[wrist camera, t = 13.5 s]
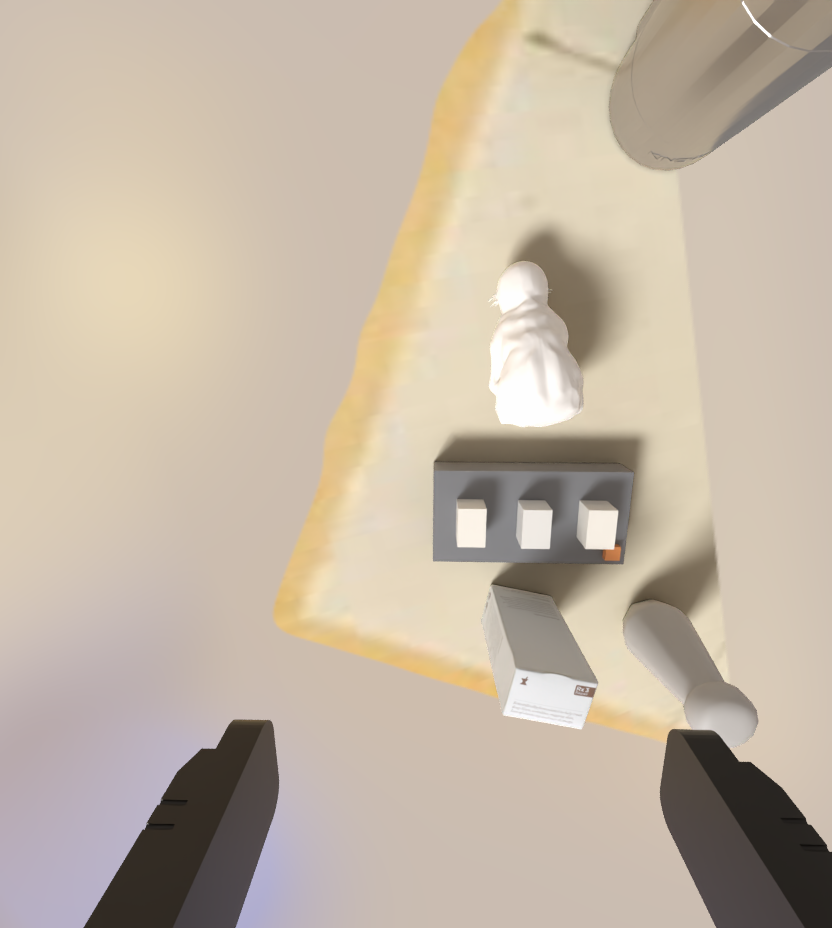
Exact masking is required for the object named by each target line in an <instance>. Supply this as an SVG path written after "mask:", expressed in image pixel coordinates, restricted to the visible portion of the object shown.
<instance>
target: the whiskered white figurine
mask: <svg viewBox="0 0 832 928" xmlns="http://www.w3.org/2000/svg"><path fill="white" fill-rule="evenodd" d="M548 290H551V289H548V281H547V278H546V275H545V273H544V271H543V270H542V269H541V268H540V267H539V266H538V265H536V264H535V263H533V262H529V261H520V262H516V263H514V264H512V265H510V266H509V267H508V268H506V269H505V270H504V272H503V273H502V274H501V276H500V278H499V281H498V285H497V293H495V294H494V295H493V297H491V298H490V299H492V298H493V299H492V300H494V299H496V300H495V302H493V304H492V306H493V305H494V304H495V303H496V302H497V301H498V302H497V303H496V305H497V304H498V303H499V306H500V309H501V316H500V318H499V320H498V322H497V324H496V327H495V330H494V333H493V336H492V339H491V342H490V352H491V376H490V381H489V388H490V390H491V391H492V392H493V393H494V394H495V395H496V408H495V410H496V412H497V414H498V417H499V420H500V422H501V424H514V425H517V426H520V427H526V426H537V427H543V426H548V425H552V424H556V423H559V422H562V421H566V420H569V419H571V418H572V417H574V416H575V415H576V414H579V413H580V412H581V411H582V409H583V404H584V400H583V376H582V373H581V370H580V367H579V366H578V364H577V361H576V360H575V358H574V357H573V356H572V354H571V353H570V352H569V350H568V348H567V344H568V338H569V335H568V330H567V327H566V325H565V323H564V321H563V320H562V319H561V318H560V317H559V316H558V315H557V314H556V313H555V312H554V311H553V310H552V309H551V308H550V307H549V306H548V303H547V301H548V298H549V297H548V292H549V291H548ZM552 291H553V290H552ZM550 293H551V292H550ZM494 297H495V298H494ZM490 299H489V300H490ZM489 300H488V301H489ZM492 300H491V301H492ZM491 301H490V302H491ZM496 305H495V306H496Z"/></svg>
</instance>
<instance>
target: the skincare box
mask: <svg viewBox="0 0 832 928" xmlns="http://www.w3.org/2000/svg"><path fill="white" fill-rule="evenodd" d="M481 622H482V626H483V630H484V635H485V640H486V644H487V649H488V653H489V657H490V662H491V666H492V671H493V676H494V680H495V685H496V689H497V693H498V697H499V702H500V707H501V711H502V714H503V715H505V716H511V717H517V718H522V719H528V720H534V721H539V722H545V723H550V724H555V725H561V726H567V727H572V728H577V729H583V727H584V723H585V720H586V717H587V714H588V711H589V708H590V705H591V703H592V699H593V697H594V694H595V691H596V688H597V685H598V681H597V679H596V677H595V675H594V673H593V672H592V670H591V668H590V666H589V664H588V663H587V661H586V659H585V657H584V655H583V654H582V652H581V650H580V648H579V646H578V644H577V643H576V641H575V639H574V637H573V635H572V633H571V632H570V630H569V628H568V626H567V624H566V622H565V620H564V619H563V617H562V615H561V613H560V611H559V610H558V608H557V606H556V604H555V602H554V600H553V598H552V597H551V596H549V595H543V594H538V593H533V592H528V591H523V590H518V589H513V588H508V587H503V586H498V585H493V584H492V585H491V586H490V589H489V593H488V596H487V600H486V604H485V607H484V611H483V615H482V619H481Z"/></svg>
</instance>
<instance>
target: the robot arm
mask: <svg viewBox="0 0 832 928" xmlns="http://www.w3.org/2000/svg"><path fill="white" fill-rule="evenodd" d="M831 67H832V0H654V1H653V2H652V4H651V5H650V7H649V9H648V10H647V12H646V13H645V15H644V16H643V18H642V20H641V21H640V23H639V24H638V27H637V36H636V40H635V42H634V43H633V45H632V46H631V48H630V49H629V51H628V52H627V54H626V55H625V57H624V58H623V60H622V62H621V64H620V66H619V68H618V70H617V72H616V74H615V77H614V80H613V84H612V88H611V92H610V102H609V111H610V122H611V125H612V128H613V132H614V135H615V137H616V139H617V141H618V142H619V144H620V146H621V148H622V149H623V150H624V151H625V152H626V153H627V154H628V156H629V157H630V158H632V159H633V160H635V161H636V162H638V163H639V164H641V165H643V166H646V167H649V168H652V169H658V170H673V169H680V168H683V167H686V166H688V165H691V164H694V163H695V162H697V161H698V160H700V159H702V158H703V157H705V156H707V155H708V154H710V153H711V152H712V151H714V150H715V149H716V148H718V147H719V146H721V145H722V144H723V143H725V142H726V141H728V140H729V139H730V138H732V137H733V136H735V135H736V134H738V133H739V132H741V131H742V130H744V129H745V128H746V127H748V126H749V125H751V124H752V123H753V122H755V121H756V120H758V119H759V118H760V117H762V116H763V115H765V114H766V113H768V112H769V111H770V110H772V109H773V108H775V107H776V106H777V105H779V104H780V103H781V102H783V101H784V100H786V99H787V98H789V97H790V96H791V95H793V94H794V93H796V92H797V91H798V90H800V89H801V88H802V87H804V86H806V85H807V84H808V83H810V82H811V81H813V80H814V79H815V78H817V77H818V76H820V75H821V74H822V73H824V72H825V71H826V70H828V69H829V68H831ZM278 791H279V774H278V765H277V756H276V747H275V738H274V729H273V724H272V722H271V721H270V720H233V721H232V722H231V723H230V724H229V726H228V727H227V729H226V731H225V733H224V735H223V737H222V738H221V740H220V742H219V744H218V746H217V748H216V749H201V750H200V751H199V752H198V753H197V754H196V755H195V756H194V757H193V758H192V759H190V760H189V761H188V762H187V763H186V764H185V765H184V766H183V767H182V768H181V769H180V770H179V771H178V772H177V774H176V775H175V777H174V779H173V780H172V782H171V784H170V785H169V787H168V788H167V790H166V792H165V793H164V795H163V797H162V799H161V803H160V805H157V807H156V808H155V810H154V812H153V813H152V815H151V817H150V818H149V820H148V822H147V825H146V828H145V830H142V832H141V833H140V835H139V837H138V838H137V840H136V842H135V843H134V845H133V847H132V848H131V850H130V852H129V853H128V855H127V857H126V858H125V860H124V862H123V863H122V865H121V866H120V868H119V870H118V872H117V873H116V875H115V876H114V878H113V880H112V881H111V883H110V885H109V886H108V888H107V890H106V891H105V893H104V895H103V896H102V898H101V900H100V901H99V903H98V905H97V906H96V908H95V910H94V911H93V913H92V915H91V916H90V918H89V920H88V921H87V923H86V925H85V926H84V928H235V927H236V924H237V922H238V919H239V916H240V913H241V910H242V907H243V904H244V901H245V898H246V895H247V892H248V889H249V886H250V883H251V880H252V878H253V875H254V872H255V869H256V866H257V863H258V860H259V857H260V854H261V851H262V848H263V845H264V842H265V840H266V837H267V833H268V831H269V828H270V825H271V822H272V819H273V816H274V813H275V809H276V804H277V799H278ZM660 800H661V806H662V811H663V815H664V818H665V821H666V824H667V826H668V829H669V831H670V833H671V835H672V837H673V839H674V841H675V843H676V845H677V847H678V849H679V852H680V854H681V856H682V858H683V860H684V862H685V864H686V866H687V868H688V870H689V872H690V874H691V876H692V878H693V880H694V882H695V885H696V887H697V889H698V891H699V893H700V895H701V897H702V899H703V901H704V903H705V905H706V907H707V909H708V911H709V913H710V916H711V918H712V920H713V922H714V924H715V926H716V928H832V852H829V851H828V849H827V845H826V844H825V842H824V841H823V840H822V838H821V837H820V836H819V834H818V833H817V832H816V831H815V829H814V828H813V827H812V826H811V825H808V824H807V822H806V818H805V817H804V816H803V814H802V813H801V812H800V810H799V809H798V808H797V807H796V805H795V804H794V803H793V802H792V800H791V799H790V798H789V796H788V795H787V794H786V792H785V791H784V790H783V789H782V788H781V787H780V786H779V785H778V784H777V783H775V782H774V781H773V780H772V779H771V778H769V777H768V776H767V775H765V774H764V773H763V772H762V771H761V770H760V769H758V768H757V767H756V766H755V765H753V764H752V763H751V762H739V761H738V760H737V758H736V757H735V756H734V754H733V753H732V752H731V750H730V749H729V747H728V746H727V745H726V743H725V742H724V741H723V739H722V738H721V737H720V736H719V735H718V734H717V733H716V732H715V731H713V730H684V729H672V730H671V731H670V732H669V734H668V738H667V745H666V753H665V759H664V766H663V773H662V779H661V786H660Z"/></svg>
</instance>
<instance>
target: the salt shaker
mask: <svg viewBox="0 0 832 928" xmlns="http://www.w3.org/2000/svg"><path fill="white" fill-rule="evenodd" d="M623 635H624V639H625V643H626V646H627V649H628V650H629V651H630V652H631V653H632V654H633V655H634V656H635V657H636V658H637V659H638V660H639V661H640V662H641V663H642V664H643V665H644V666H645V667H646V668H647V669H648V670H649V671H650V672H651V673H652V674H653V675H654V676H655V677H656V678H657V679H658V680H659V681H660V682H661V683H662V684H663V685H664V686H665V687H666V688H667V689H668V690H669V691H670V692H671V693H672V694H673V695H674V696H675V697H676V698H677V699H678V700H679V701H680V702H681V703H682V704H683V705H684V706H683V707H684V712H685V716H686V720H687V722H688V724H689V725H690V727H691V728H692V729H693V730H713V731H715V732H716V733H717V734H718V735H719V736H720V737H721V738H722V739H723V741H724V742H725V743H726V745H727V746H728V747H729V748H734V747H737V746H739V745H741V744H744V743H745V742H747V741H748V740H749V739H750V738H751V737H752V736H753V735H754V732H755V730H756V727H757V724H758V716H757V710H756V709H755V707H754V706H753V704H752V702H751V701H750V700H749V699H748V698H747V697H746V696H745V695H744V694H743V693H742V692H741V691H740V690H739V689H738V688H737V687H735V686H733V685H731V684H728V683H726V682H724V680H723V678H722V676H721V674H720V673H719V671H718V669H717V667H716V666H715V664H714V662H713V660H712V658H711V657H710V655H709V653H708V651H707V650H706V648H705V646H704V644H703V643H702V641H701V639H700V637H699V635H698V634H697V632H696V630H695V628H694V627H693V625H692V623H691V621H690V620H689V619H688V618H687V617H686V616H685V615H684V613H683V612H682V611H681V610H679V609H678V608H676V607H673V606H671V605H668V604H666V603H663V602H660V601H656V600H653V599H650V600H646V601H642V602H638V603H634V604H632V605H631V606H630V608H629V610H628V612H627V613H626V615H625V617H624V619H623Z"/></svg>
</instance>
